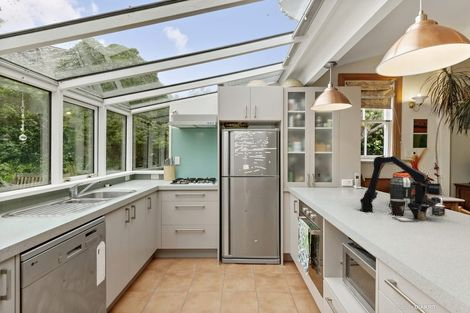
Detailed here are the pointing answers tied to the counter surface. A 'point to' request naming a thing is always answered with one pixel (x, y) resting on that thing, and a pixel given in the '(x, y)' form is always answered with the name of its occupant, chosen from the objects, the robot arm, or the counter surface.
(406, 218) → the pad
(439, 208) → the medicine bottle
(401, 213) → the coffee mug
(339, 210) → the counter surface
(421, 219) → the letter block
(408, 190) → the supplement tub
